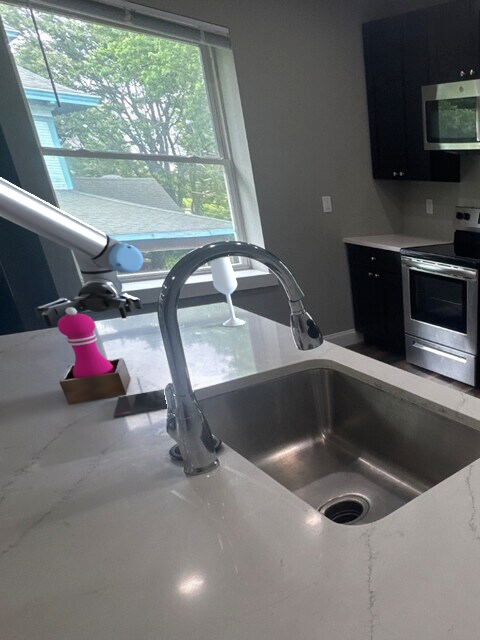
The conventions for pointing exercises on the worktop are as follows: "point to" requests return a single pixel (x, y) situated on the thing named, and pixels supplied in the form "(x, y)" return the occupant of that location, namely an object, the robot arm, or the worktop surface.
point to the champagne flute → (225, 285)
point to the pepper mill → (83, 344)
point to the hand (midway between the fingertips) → (86, 316)
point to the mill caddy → (96, 384)
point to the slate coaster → (140, 403)
